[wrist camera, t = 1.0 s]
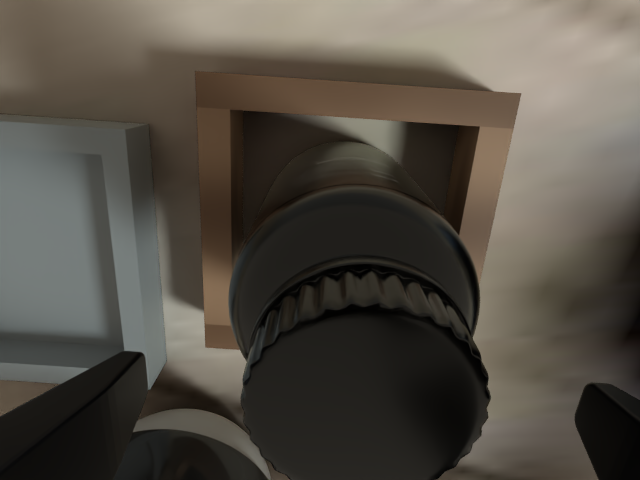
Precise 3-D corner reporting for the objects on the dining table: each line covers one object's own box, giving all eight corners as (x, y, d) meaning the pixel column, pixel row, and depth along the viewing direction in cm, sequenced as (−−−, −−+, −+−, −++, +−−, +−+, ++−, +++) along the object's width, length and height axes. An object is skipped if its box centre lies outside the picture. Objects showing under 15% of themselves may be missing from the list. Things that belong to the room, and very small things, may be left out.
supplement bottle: (242, 243, 20) (126, 459, 8) (311, 108, 18) (280, 158, 6) (368, 307, 21) (415, 573, 10) (449, 187, 19) (633, 351, 7)
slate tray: (166, 361, 22) (149, 389, 20) (-64, 345, 22) (-104, 372, 20) (148, 124, 18) (125, 129, 16) (-137, 104, 18) (-198, 107, 16)
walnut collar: (447, 332, 21) (461, 364, 19) (219, 317, 21) (205, 347, 19) (495, 91, 17) (521, 93, 15) (213, 72, 17) (195, 70, 15)
